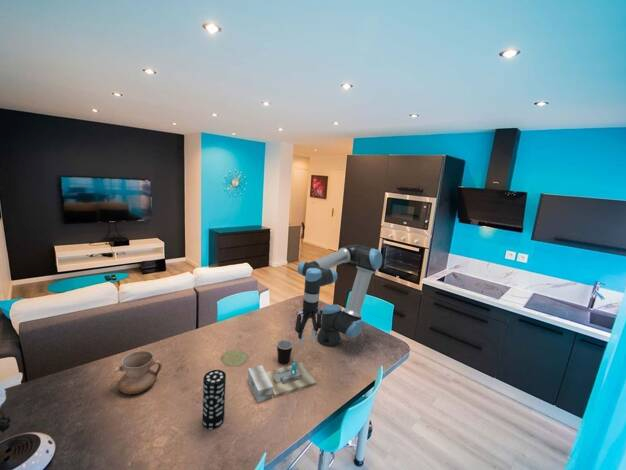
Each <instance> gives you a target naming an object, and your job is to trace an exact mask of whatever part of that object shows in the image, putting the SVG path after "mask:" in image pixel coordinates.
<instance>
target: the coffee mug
mask: <svg viewBox="0 0 626 470" xmlns="http://www.w3.org/2000/svg"><path fill="white" fill-rule="evenodd" d="M293 346H294V345H293V342H292V341H290V340H287V339H286V340H285V339H282V340H279V341H278V342H277V343H276V349H277V352H276V353H277V363H278V364H279V363H280V364H279V365H285V364H286V365H288V364H289V363H290V361H291V360H290V359H291V355H292V351H293Z"/></svg>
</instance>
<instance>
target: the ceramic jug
mask: <svg viewBox="0 0 626 470" xmlns="http://www.w3.org/2000/svg"><path fill="white" fill-rule="evenodd" d="M120 364H121V365H120V366H119V365H118V366H117V367H115V368H114V372H122V373H124V374H122V376H121V377H120V378H119V381H117V382H116V385H117V387H118V390H119V391H120V392H121V393H123V394H126V395H136V394H139V393H142V392H144V391H146V390H148V389H149V388H151V387H152V386H153V385H154V383H155V382H156V381H157V377H158V374H159V373H160V371H161V369H162V368H163V367H162V366H163V363H162V361H161V360H159V359H156V360H154V354H153V352H152V351H150V350H135V351H133V352H130V353H129V354H126V355H124V357H123V358H122V359H121V363H120ZM156 364H157V365H158V368H157V369H156V371H154V369H152V367H153V366H154V365H156Z"/></svg>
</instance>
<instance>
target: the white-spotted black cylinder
mask: <svg viewBox="0 0 626 470" xmlns="http://www.w3.org/2000/svg"><path fill="white" fill-rule="evenodd" d="M202 380H203V381H202V382H203V385H202V420H201V421H202V426H203V427H204V429H207V430H214V429H218V428H219V427H221V426H222V425H223V423H224V422H225V411H226V410H225V408H226V407H225V406H226V405H225V404H226V385H227V384H226V383H227V382H226V381H227V375H226V372H225V371H223V370H221V369H213V370H209V371H208V372H206V373H205V374H204V376H203V379H202Z"/></svg>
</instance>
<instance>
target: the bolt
mask: <svg viewBox="0 0 626 470" xmlns="http://www.w3.org/2000/svg"><path fill="white" fill-rule="evenodd" d="M297 364H298V362H297V361H295V360H294V361H292V362H291V365H292V369H291V371H288V372H284V373H281V374H277V375H274V381H275V382H276V383H277V382H281V381H282V378H284V377H287V376H291V375H294V374H298V373H300V371H299V370H298V369H296V367H297Z"/></svg>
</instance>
